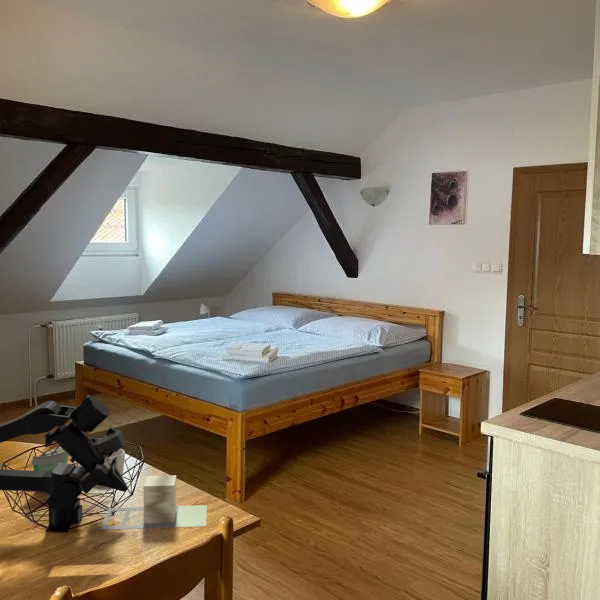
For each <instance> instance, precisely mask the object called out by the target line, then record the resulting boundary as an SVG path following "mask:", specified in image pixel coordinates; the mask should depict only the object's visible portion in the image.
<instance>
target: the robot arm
mask: <svg viewBox="0 0 600 600" xmlns="http://www.w3.org/2000/svg"><path fill="white" fill-rule="evenodd" d="M110 416H111V411H110V409H109V407H108V406H106V404H105V403H104V402H103V401H101V400H100V399H97V398H95V397H92V396H91V395H90V394H88V395H86V397H84V399H83V400H82V402H80V403H79V404H78V405H77V406H76V407H74V406H66V405H60V404H59V403H58V402H56V401H54V400H48V401H45V402H43V403H41V404H39V405H37V406H36V407H33V408H32V409H31V410H29V411H28V412H26V413H24V414H22V415H21V416H19V417H16V418H12V419H10V420H8V421H4V422H1V423H0V444H1V443H4V442H7V441H9V440H12V439H15V438H17V437H21V436H27V435H28V436H29V435H31V436H32V435H38V434H39V435H40V434H43V433H45V435H44V438H45V440H44V441H45V443H44V447H45V448H48V447H49V446H50V445H52V444H53V442H54V443H55V444H56V445H57V446H58V445H59V446H60V447H61V448H62V449H63V450H64V451H65V452H66V453H67V454H69V455H70V456H69V457H70V459H69V461H70V462H71V463H67V464H65V463H58V464H57V465H56V467H55V468H54V469H53V470H51V471H34V470H27V469H25V470H24V469H3V468H0V491H9V492H10V491H11V492H13V491H15V492H36V493H37V492H39V493H44V494H46V495H49V496H48V497H47V499H46V500H45V502H46V504H47V507H48V525H47V527H46V528H45V532H52V533H53V532H54V533H68V531H69V530H70V528H71V525H75V524H79V523H80V521H82V519H83V505H82V504H81V498H80V497H79V496H81V494H82V492H83V493H84V494H88V493H89V492H90V491H92V489H93V488H95V487H96V486H100V487H105V488H109V489H112V490H117V491H120V492H123V493H125V492H126V491H128V488H129V486H128V485H127V483H126V481H125V479H124V478H123V476H121V474H120V473H119V471H118V469H117V457H115V458H114V459H113V460H111V459H108V458H109V457H110V456H111V455H112V454H113V453H114V452H117V451H118V450H119V449H123V448H124V445H125V443H126V440H125V439H124V437H123V435H124V433H123V431H121V430H120V429H117V428H116V427H115V426H112V427H109V428H108V429H107V430H106V435H103V436H102V437H101V438H98V437H96V436H94V435H93V436H91V437H90V436H89V435H87V434H86V433H87V432H88V433H92V432H94V430H96V429H97V428H98V427H99V426H100V425H101V424H102V423H103V422H104V421H105V420H106V419H107V418H108V417H110ZM68 421H69V422H68ZM67 422H68V423H67ZM66 423H67V424H66ZM54 428H55V429H54ZM52 430H53V431H52ZM50 431H51V432H50ZM77 464H78V465H77Z"/></svg>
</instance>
